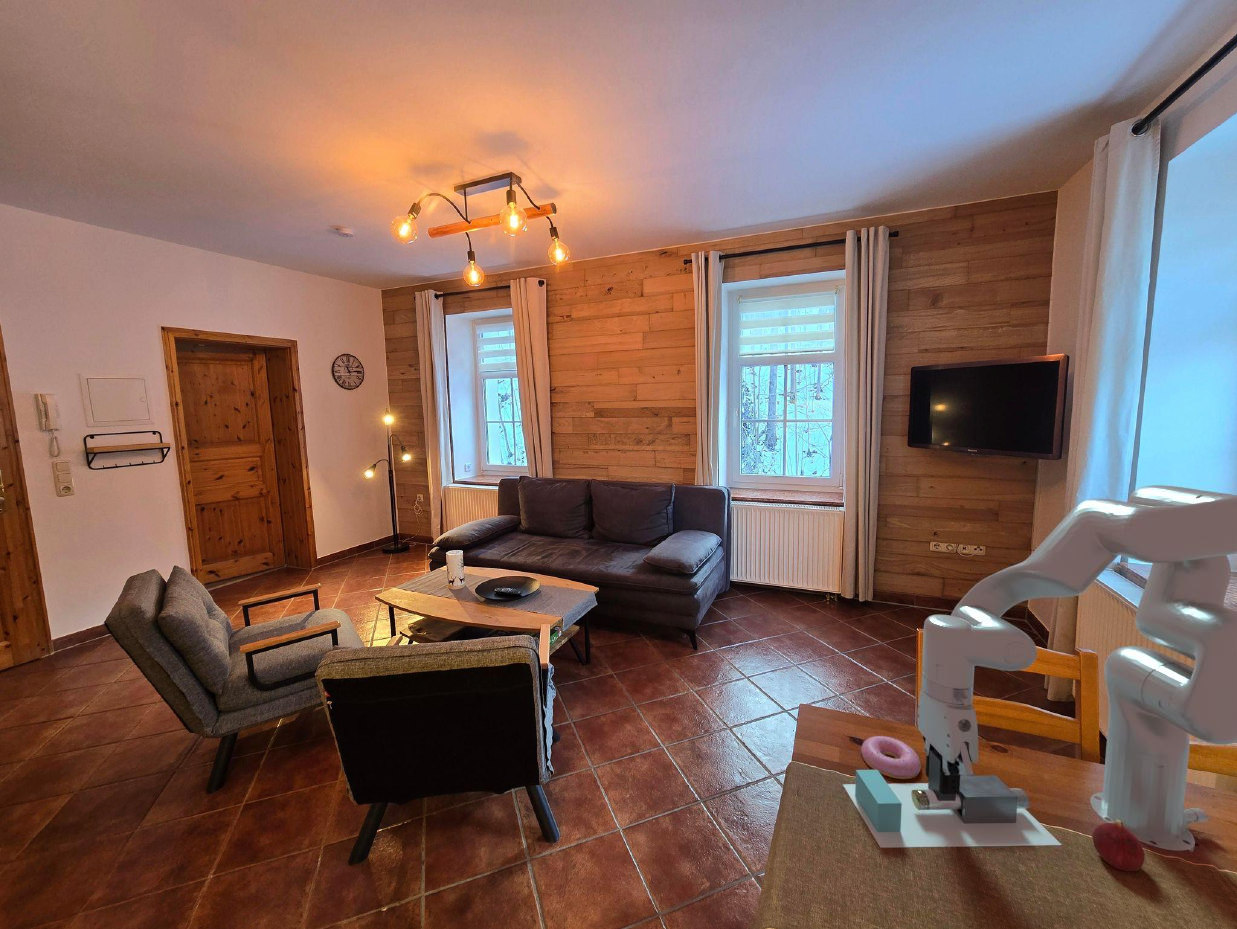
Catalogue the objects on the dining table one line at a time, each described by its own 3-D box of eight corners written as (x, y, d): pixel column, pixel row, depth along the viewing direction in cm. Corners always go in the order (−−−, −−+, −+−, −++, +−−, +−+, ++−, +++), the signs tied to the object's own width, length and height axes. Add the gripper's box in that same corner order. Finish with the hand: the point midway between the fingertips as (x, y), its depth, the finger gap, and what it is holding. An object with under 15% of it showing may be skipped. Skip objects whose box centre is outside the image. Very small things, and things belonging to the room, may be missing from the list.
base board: (997, 787, 95) (997, 782, 95) (1061, 851, 81) (1062, 845, 81) (842, 790, 95) (842, 784, 95) (880, 853, 81) (880, 847, 81)
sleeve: (994, 800, 90) (995, 775, 90) (1016, 822, 85) (1017, 796, 85) (945, 801, 91) (946, 776, 90) (964, 823, 86) (965, 797, 85)
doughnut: (866, 780, 98) (866, 760, 98) (856, 744, 108) (857, 727, 108) (928, 791, 95) (928, 771, 94) (912, 753, 105) (912, 735, 105)
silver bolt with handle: (1015, 799, 89) (1018, 748, 88) (1028, 812, 86) (1032, 759, 85) (911, 800, 90) (913, 749, 89) (921, 814, 87) (923, 761, 86)
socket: (876, 795, 92) (877, 769, 92) (900, 831, 84) (901, 803, 84) (855, 796, 92) (855, 770, 92) (877, 832, 84) (878, 803, 84)
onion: (1153, 888, 75) (1157, 840, 74) (1109, 881, 76) (1112, 834, 75) (1122, 854, 80) (1126, 809, 80) (1081, 849, 81) (1085, 804, 81)
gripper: (1004, 715, 78) (998, 822, 79) (937, 663, 94) (933, 753, 96) (956, 716, 78) (951, 822, 79) (898, 664, 94) (895, 753, 96)
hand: (942, 783), depth 88 cm, fingers closed on silver bolt with handle, 3 cm apart
